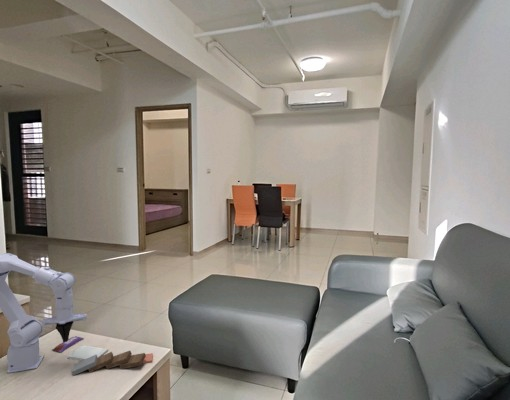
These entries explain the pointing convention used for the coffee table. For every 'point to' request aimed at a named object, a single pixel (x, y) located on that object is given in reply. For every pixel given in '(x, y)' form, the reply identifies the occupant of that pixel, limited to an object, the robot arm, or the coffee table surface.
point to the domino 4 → (134, 361)
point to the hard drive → (86, 352)
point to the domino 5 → (148, 358)
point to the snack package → (67, 344)
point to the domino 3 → (119, 359)
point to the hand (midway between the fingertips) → (65, 340)
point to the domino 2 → (102, 361)
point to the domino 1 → (84, 365)
